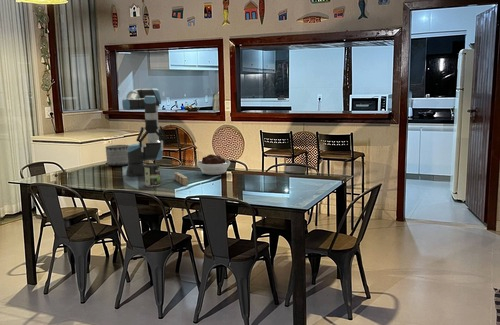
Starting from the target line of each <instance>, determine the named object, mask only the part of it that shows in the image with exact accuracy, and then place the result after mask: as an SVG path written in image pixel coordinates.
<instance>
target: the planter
mask: <svg viewBox="0 0 500 325" xmlns="http://www.w3.org/2000/svg"><path fill="white" fill-rule="evenodd" d="M128 146H129V145H128V144H111V145H106V146H105V154H106V155H105V156H106V157H105V158H106V164H107V165H108V166H112V167H124V166H126V165H128V153H127V147H128Z"/></svg>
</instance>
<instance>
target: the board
mask: <svg viewBox="0 0 500 325" xmlns="http://www.w3.org/2000/svg"><path fill="white" fill-rule="evenodd" d="M174 180H175V181H176V182H177V183H179V184H181V185H182V186H188V185H189V181H188V180H189V178H188V176H185V175H183V174H182V173H180V172H178V171H177V172H174Z"/></svg>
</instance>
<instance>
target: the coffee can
mask: <svg viewBox="0 0 500 325" xmlns="http://www.w3.org/2000/svg"><path fill="white" fill-rule="evenodd" d="M144 168H145V175H144V181H145V183H144V184H145V185H144V186H145V187H151V188H153V186H154V187H159V186H161V172H160V170H161V169H160V168H161V167H160V163H147V164H144Z"/></svg>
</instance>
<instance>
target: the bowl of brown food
mask: <svg viewBox="0 0 500 325" xmlns="http://www.w3.org/2000/svg"><path fill="white" fill-rule="evenodd" d="M196 164H197V166H198V168H199V169H200V170H201V173H203V174H205V175H209V176H219V175H223V174H225V173H226V172H227V170H228V168H229V166H230V165H231V161H230V160H229V159H225V158H224V157H221V155H218V154H217V155H215V154H211V153H210V154H208V155H206V156H203V157H202V160H198V161H197V162H196Z"/></svg>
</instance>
